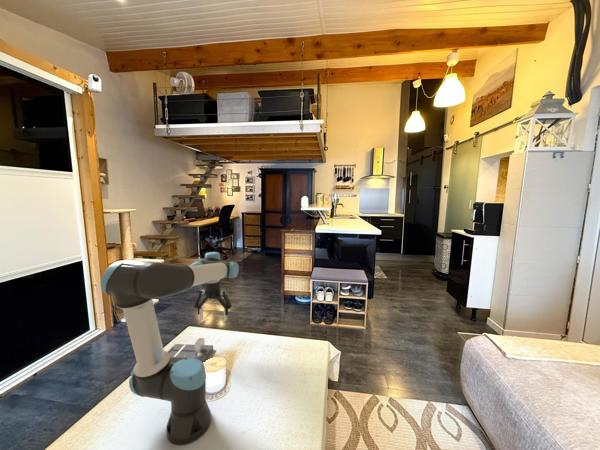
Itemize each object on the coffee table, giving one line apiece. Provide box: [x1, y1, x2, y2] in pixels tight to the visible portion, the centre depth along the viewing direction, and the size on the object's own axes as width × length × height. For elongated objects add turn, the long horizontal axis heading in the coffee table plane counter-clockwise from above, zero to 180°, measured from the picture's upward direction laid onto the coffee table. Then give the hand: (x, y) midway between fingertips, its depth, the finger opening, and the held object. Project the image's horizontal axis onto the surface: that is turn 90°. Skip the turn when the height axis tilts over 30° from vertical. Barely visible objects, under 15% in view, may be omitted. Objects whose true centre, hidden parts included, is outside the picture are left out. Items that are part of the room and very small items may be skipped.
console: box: [166, 343, 214, 364], centre depth 132 cm, size 12×22×4 cm, turn 88°
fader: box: [194, 337, 205, 354], centre depth 131 cm, size 5×3×6 cm, turn 178°
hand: (213, 320), depth 130 cm, fingers open, 12 cm apart
